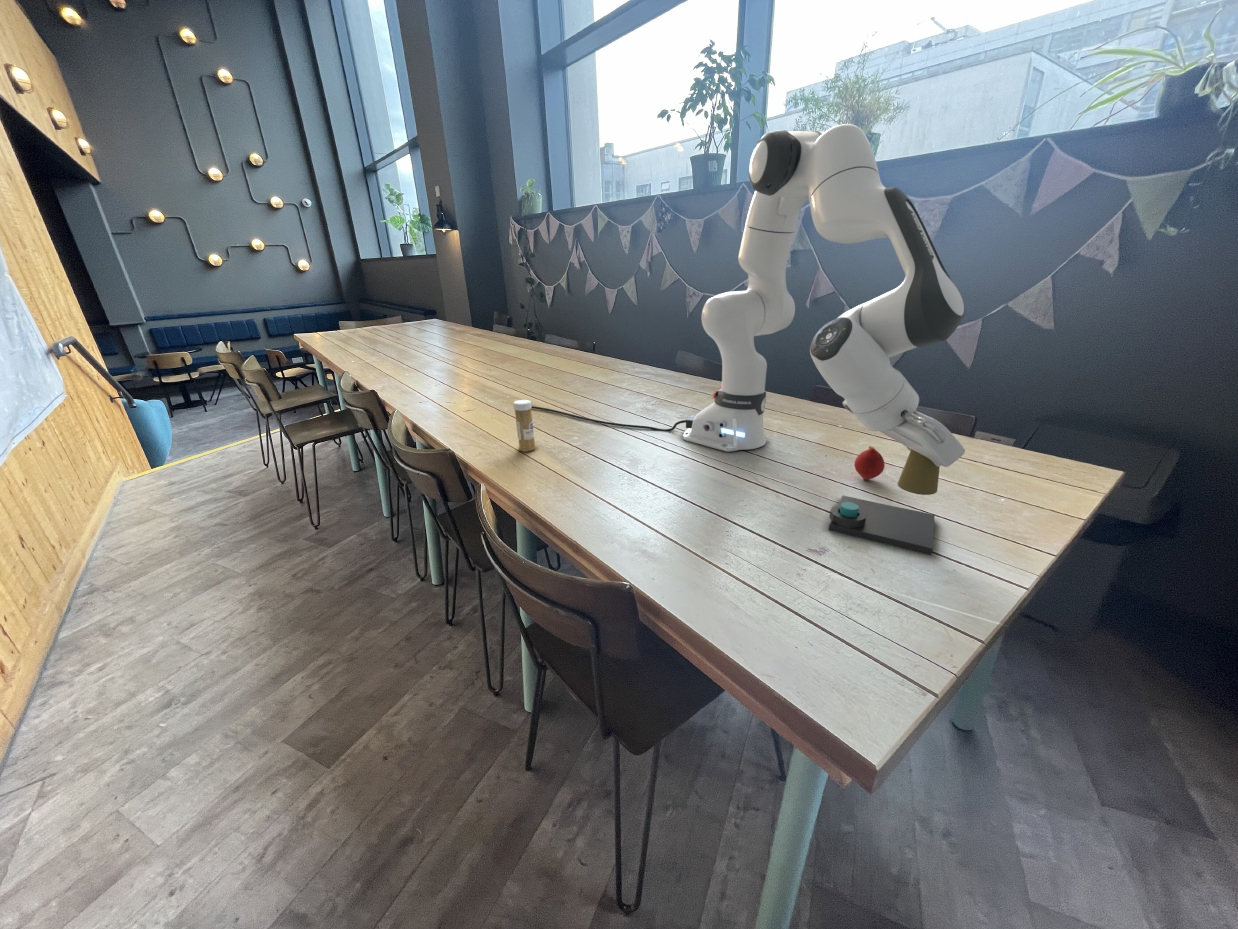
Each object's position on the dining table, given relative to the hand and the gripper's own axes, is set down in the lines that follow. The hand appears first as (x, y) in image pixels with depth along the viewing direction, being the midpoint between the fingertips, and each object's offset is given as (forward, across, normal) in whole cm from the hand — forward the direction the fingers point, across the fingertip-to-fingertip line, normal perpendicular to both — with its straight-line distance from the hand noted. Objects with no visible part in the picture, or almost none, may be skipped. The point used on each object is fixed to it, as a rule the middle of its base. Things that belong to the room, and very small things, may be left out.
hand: (928, 455), depth 80 cm
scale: (+7, +2, +13) cm, 15 cm away
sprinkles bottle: (-42, +53, +62) cm, 92 cm away
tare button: (+1, +2, +16) cm, 16 cm away
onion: (+13, +20, +7) cm, 25 cm away
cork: (+4, 0, +5) cm, 6 cm away
